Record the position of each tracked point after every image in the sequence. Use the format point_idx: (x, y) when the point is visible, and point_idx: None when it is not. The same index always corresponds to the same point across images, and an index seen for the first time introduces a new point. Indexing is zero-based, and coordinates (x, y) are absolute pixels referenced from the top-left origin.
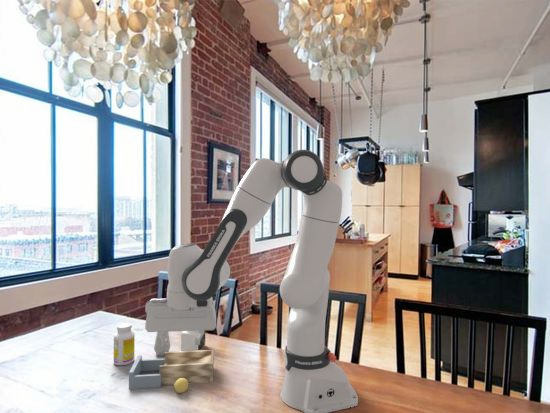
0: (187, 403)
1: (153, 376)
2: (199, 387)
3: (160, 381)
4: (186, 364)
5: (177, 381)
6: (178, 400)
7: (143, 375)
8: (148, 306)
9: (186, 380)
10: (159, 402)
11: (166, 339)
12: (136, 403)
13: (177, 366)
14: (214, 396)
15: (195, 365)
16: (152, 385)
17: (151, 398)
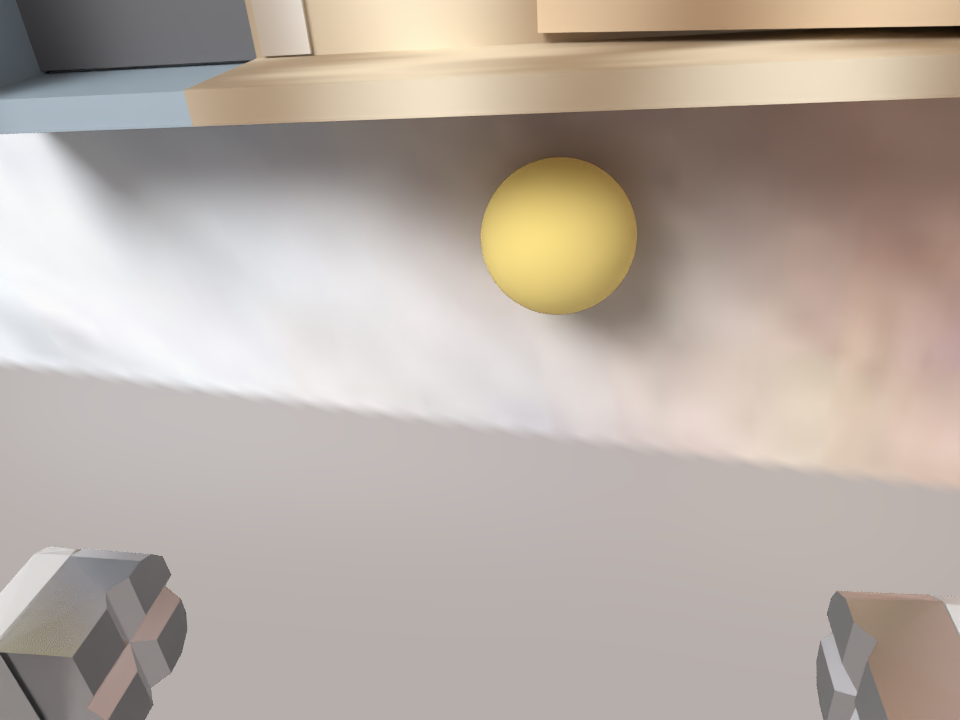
0: (642, 388)
1: (188, 123)
2: (764, 136)
3: None
4: (593, 87)
5: (512, 284)
6: (556, 338)
7: (63, 114)
8: None
9: (616, 257)
10: (397, 345)
11: (81, 709)
12: (216, 335)
13: (454, 111)
14: (912, 320)
15: (748, 103)
16: None
17: (308, 282)
